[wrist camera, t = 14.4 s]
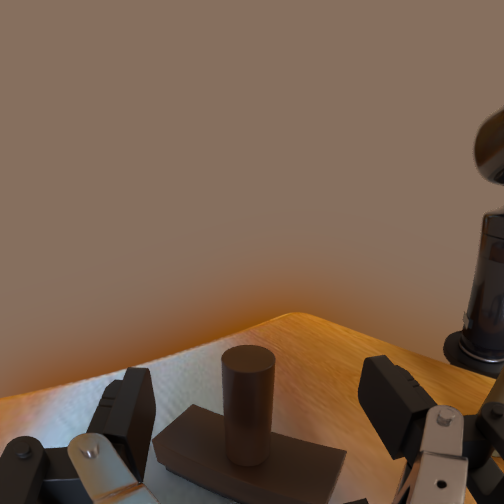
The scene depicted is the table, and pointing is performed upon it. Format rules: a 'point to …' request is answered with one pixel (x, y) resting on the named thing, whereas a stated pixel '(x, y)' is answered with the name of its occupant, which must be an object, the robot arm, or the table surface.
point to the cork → (496, 396)
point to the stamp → (247, 442)
